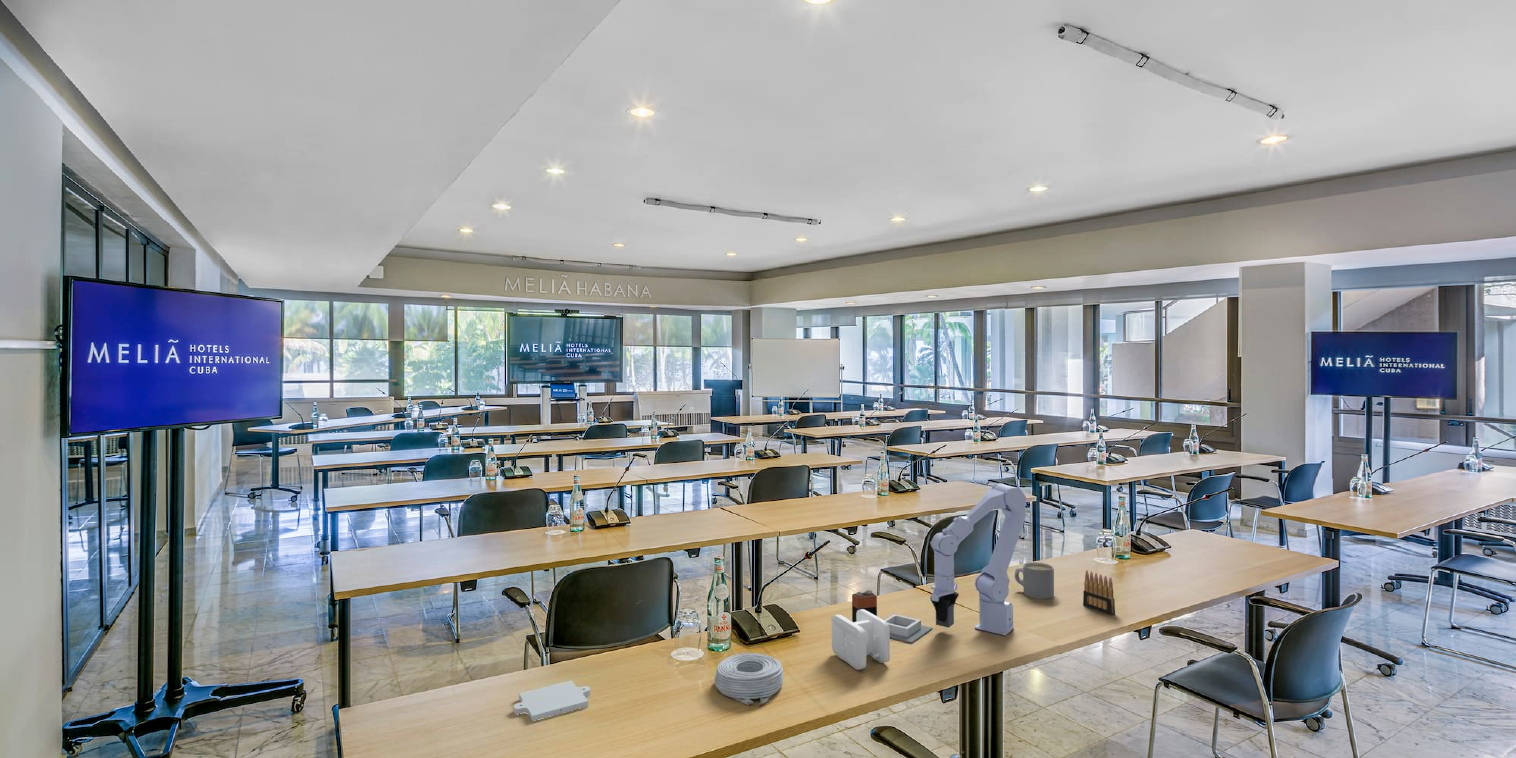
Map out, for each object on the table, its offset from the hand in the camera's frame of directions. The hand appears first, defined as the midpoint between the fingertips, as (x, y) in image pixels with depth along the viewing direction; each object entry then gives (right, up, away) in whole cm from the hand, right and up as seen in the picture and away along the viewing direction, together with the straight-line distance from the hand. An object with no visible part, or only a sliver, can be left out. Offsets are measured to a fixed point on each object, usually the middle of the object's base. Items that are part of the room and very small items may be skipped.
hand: (944, 618), depth 206 cm
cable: (-59, -5, -34) cm, 68 cm away
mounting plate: (-106, -6, -42) cm, 114 cm away
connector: (0, -2, 0) cm, 2 cm away
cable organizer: (-28, -5, -20) cm, 35 cm away
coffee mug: (+42, -4, +36) cm, 55 cm away
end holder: (-13, -4, +1) cm, 14 cm away
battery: (-23, -5, +8) cm, 25 cm away
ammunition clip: (+56, -4, +18) cm, 59 cm away
